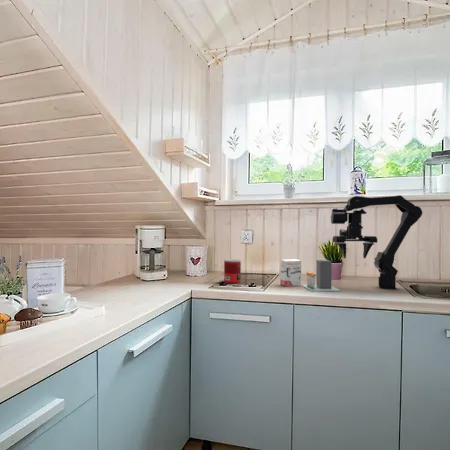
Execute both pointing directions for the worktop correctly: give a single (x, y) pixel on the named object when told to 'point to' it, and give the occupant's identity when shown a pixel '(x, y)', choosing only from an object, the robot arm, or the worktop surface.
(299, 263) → the ink box
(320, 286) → the gray rectangular block
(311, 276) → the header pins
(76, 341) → the worktop surface
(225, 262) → the canned food
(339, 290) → the mat
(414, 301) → the worktop surface
